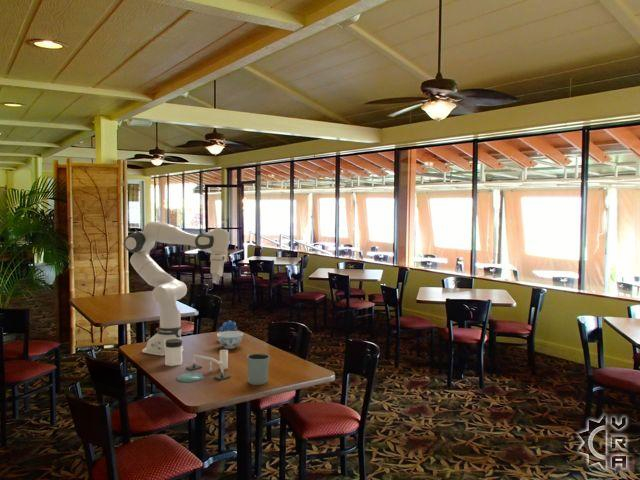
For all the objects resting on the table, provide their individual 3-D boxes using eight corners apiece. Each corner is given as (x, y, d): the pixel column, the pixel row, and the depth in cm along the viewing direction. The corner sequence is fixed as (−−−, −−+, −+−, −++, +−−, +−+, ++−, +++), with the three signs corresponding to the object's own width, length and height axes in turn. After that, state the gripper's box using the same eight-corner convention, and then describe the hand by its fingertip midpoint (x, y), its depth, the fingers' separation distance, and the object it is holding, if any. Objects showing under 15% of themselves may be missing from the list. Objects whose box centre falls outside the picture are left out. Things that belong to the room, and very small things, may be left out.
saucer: (172, 380, 232) (172, 379, 232) (185, 373, 244) (185, 371, 244) (195, 383, 229) (195, 381, 229) (207, 375, 241) (207, 374, 241)
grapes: (235, 337, 315) (235, 318, 315) (238, 339, 309) (238, 320, 309) (216, 339, 310) (216, 319, 310) (219, 341, 304) (219, 322, 304)
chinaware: (247, 348, 290) (247, 335, 289) (222, 351, 282) (222, 338, 281) (236, 342, 302) (236, 330, 302) (213, 346, 294) (213, 332, 294)
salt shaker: (218, 369, 250) (218, 351, 250) (221, 366, 254) (221, 349, 254) (225, 369, 249) (225, 352, 249) (229, 367, 253) (229, 349, 253)
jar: (167, 361, 263) (167, 338, 262) (183, 361, 264) (183, 338, 263) (163, 366, 254) (163, 343, 253) (180, 366, 255) (180, 342, 254)
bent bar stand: (185, 368, 251) (185, 354, 250) (195, 366, 255) (195, 352, 255) (220, 380, 233) (220, 365, 233) (230, 377, 238) (230, 362, 237)
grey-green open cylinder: (243, 380, 233) (243, 355, 233) (262, 376, 239) (262, 351, 239) (253, 386, 225) (254, 360, 225) (273, 382, 231) (273, 356, 231)
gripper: (215, 259, 281) (212, 284, 279) (209, 255, 261) (206, 281, 259) (227, 260, 281) (224, 285, 279) (222, 256, 261) (218, 283, 259)
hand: (215, 283), depth 269 cm, fingers open, 8 cm apart
